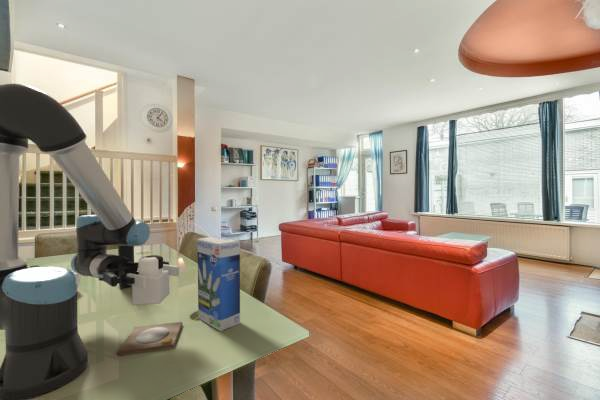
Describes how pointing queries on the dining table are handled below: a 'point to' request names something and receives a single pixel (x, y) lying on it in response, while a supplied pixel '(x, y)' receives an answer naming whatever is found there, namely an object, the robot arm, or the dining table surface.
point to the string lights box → (219, 282)
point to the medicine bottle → (151, 281)
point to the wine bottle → (126, 255)
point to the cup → (77, 279)
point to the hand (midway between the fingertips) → (162, 276)
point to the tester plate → (151, 338)
